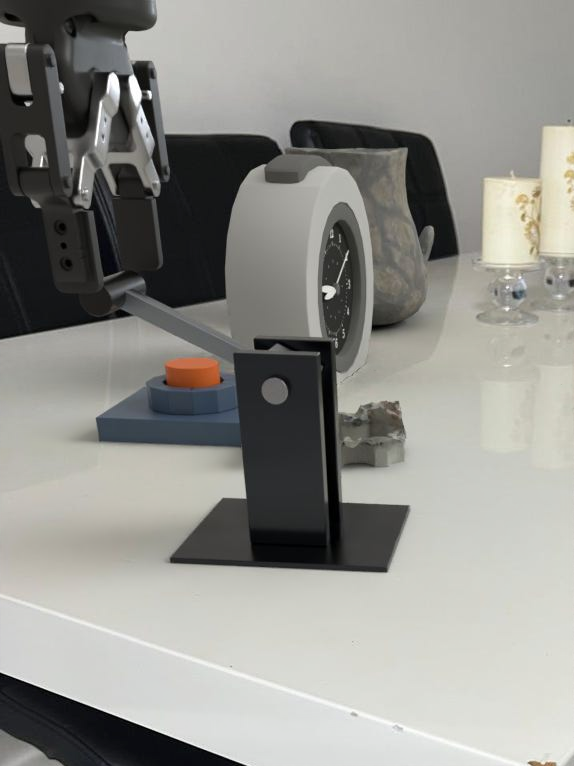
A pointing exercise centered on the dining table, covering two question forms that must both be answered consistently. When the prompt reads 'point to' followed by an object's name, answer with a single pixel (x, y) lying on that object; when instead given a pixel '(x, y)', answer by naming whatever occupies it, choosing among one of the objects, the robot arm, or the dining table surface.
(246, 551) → the black lever stand
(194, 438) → the control block
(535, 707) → the dining table surface
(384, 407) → the egg carton
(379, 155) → the vessel
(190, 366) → the button
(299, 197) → the alarm clock
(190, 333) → the grey crank handle
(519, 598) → the dining table surface
